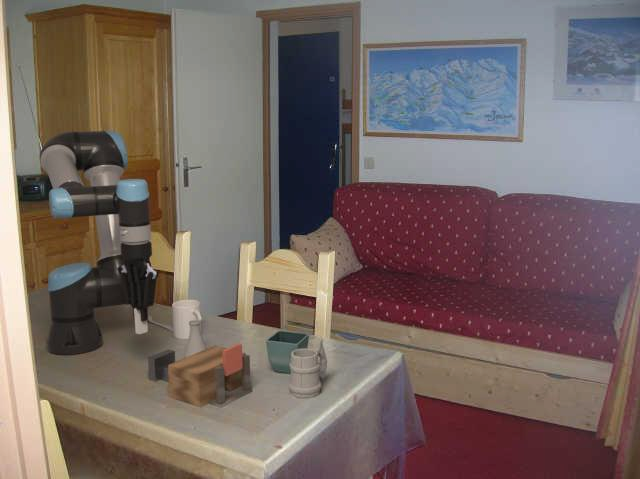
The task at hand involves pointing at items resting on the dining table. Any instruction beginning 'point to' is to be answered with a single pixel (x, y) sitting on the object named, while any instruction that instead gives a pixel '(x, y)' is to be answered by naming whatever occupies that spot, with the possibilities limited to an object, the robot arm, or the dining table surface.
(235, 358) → the block
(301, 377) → the mug
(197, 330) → the flask
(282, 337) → the flower pot
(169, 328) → the fork
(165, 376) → the dark grey block
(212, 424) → the dining table surface
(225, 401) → the block
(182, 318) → the mug
